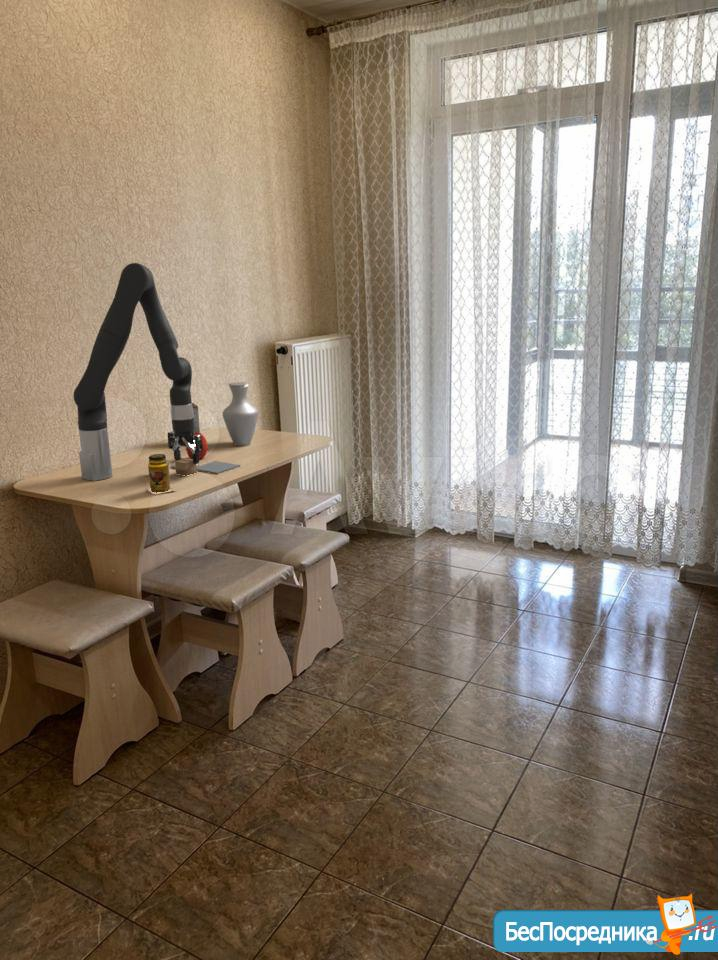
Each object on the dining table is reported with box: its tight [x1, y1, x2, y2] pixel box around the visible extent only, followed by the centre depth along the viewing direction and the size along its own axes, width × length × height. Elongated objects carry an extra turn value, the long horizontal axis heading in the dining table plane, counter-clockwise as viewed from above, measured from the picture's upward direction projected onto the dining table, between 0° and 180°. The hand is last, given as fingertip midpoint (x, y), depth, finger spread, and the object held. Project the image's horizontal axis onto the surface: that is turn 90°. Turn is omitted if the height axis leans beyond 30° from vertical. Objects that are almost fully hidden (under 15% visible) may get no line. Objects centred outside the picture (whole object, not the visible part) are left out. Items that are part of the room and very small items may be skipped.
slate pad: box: [196, 460, 241, 475], centre depth 257 cm, size 12×12×1 cm
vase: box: [222, 381, 259, 447], centre depth 290 cm, size 14×14×25 cm
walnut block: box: [174, 457, 198, 477], centre depth 250 cm, size 5×5×5 cm
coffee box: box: [192, 402, 201, 433], centre depth 294 cm, size 9×6×16 cm
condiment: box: [147, 453, 171, 493], centre depth 230 cm, size 7×8×12 cm
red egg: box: [185, 431, 209, 460], centre depth 270 cm, size 8×8×11 cm
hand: (187, 462), depth 250 cm, fingers open, 8 cm apart
